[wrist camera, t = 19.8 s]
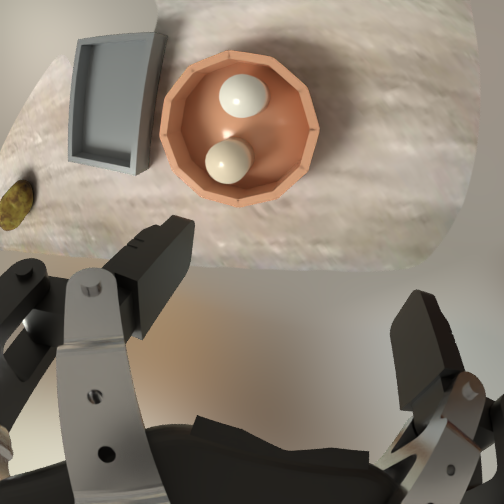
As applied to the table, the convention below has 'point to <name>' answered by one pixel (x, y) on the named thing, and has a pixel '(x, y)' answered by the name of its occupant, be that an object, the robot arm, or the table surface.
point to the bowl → (239, 128)
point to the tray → (114, 100)
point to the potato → (15, 205)
